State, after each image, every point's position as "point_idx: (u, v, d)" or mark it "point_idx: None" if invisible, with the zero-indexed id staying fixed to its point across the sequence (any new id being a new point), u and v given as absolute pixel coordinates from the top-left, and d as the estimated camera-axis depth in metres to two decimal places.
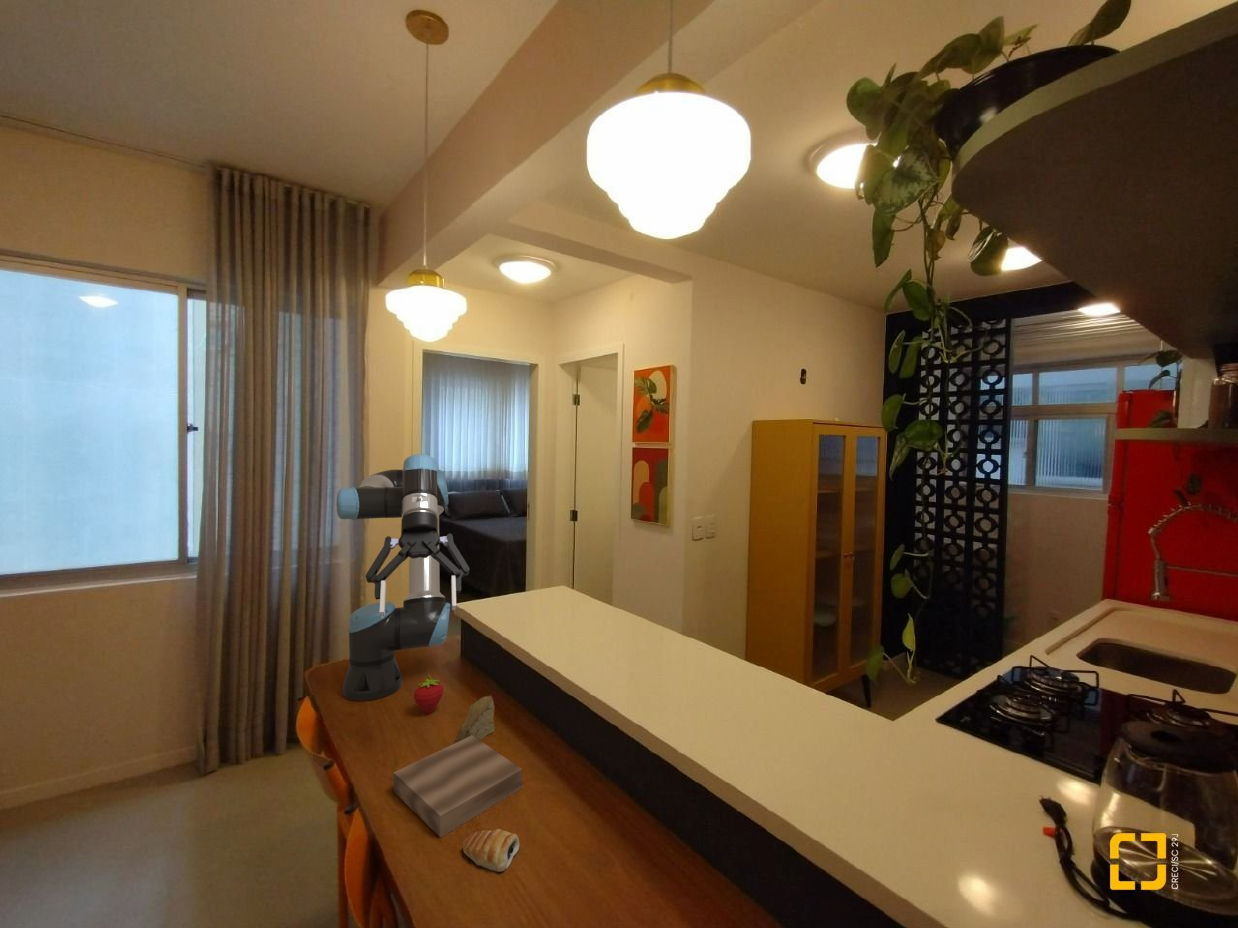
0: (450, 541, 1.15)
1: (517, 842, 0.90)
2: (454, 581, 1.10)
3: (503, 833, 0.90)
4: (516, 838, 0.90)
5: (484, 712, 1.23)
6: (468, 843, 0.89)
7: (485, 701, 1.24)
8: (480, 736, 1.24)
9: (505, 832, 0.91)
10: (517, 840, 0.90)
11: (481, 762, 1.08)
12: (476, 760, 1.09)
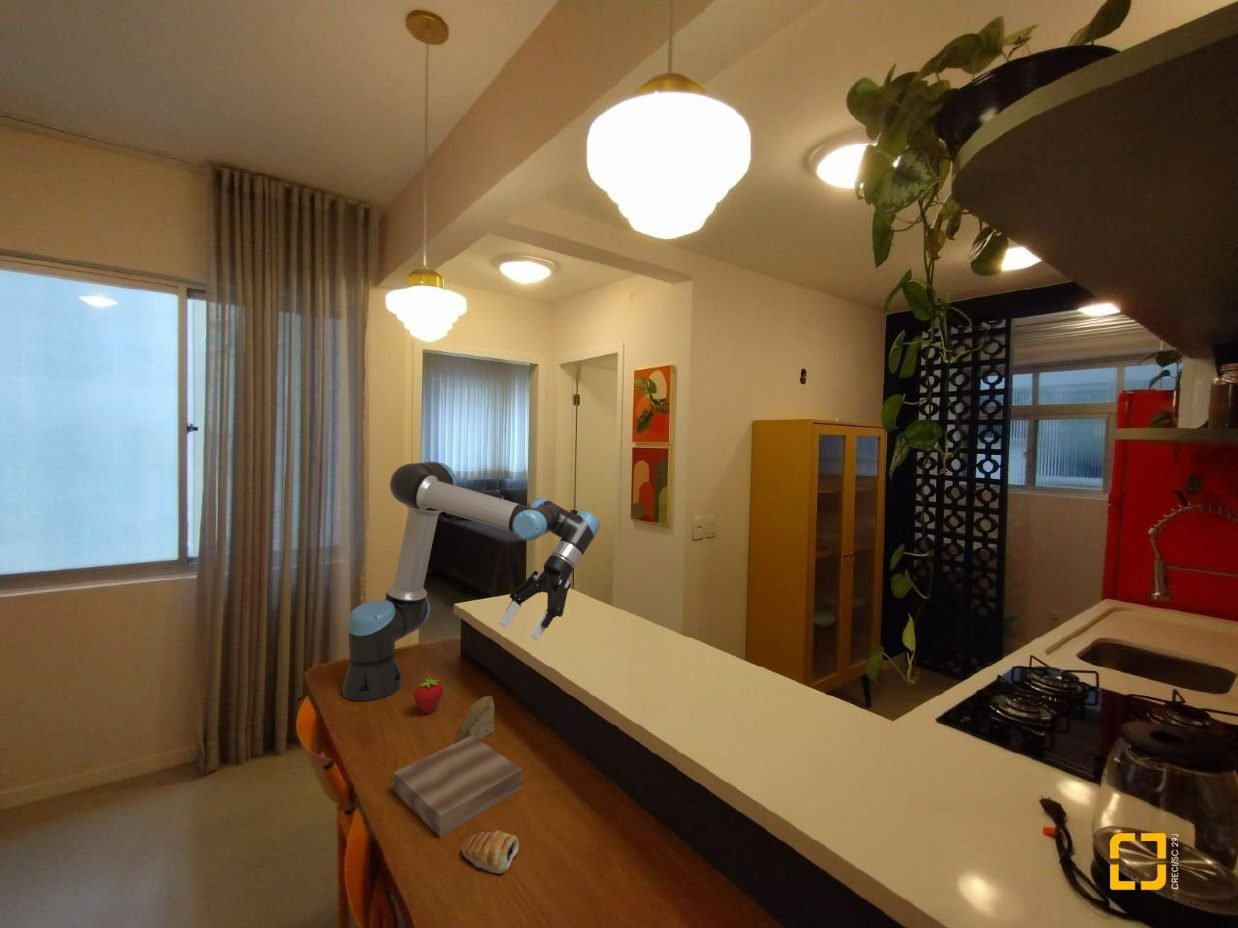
0: None
1: (516, 843, 0.90)
2: None
3: (502, 835, 0.90)
4: (515, 839, 0.90)
5: (484, 712, 1.23)
6: (467, 845, 0.89)
7: (485, 701, 1.24)
8: (480, 736, 1.24)
9: (504, 834, 0.90)
10: (516, 841, 0.90)
11: (481, 762, 1.08)
12: (476, 760, 1.09)
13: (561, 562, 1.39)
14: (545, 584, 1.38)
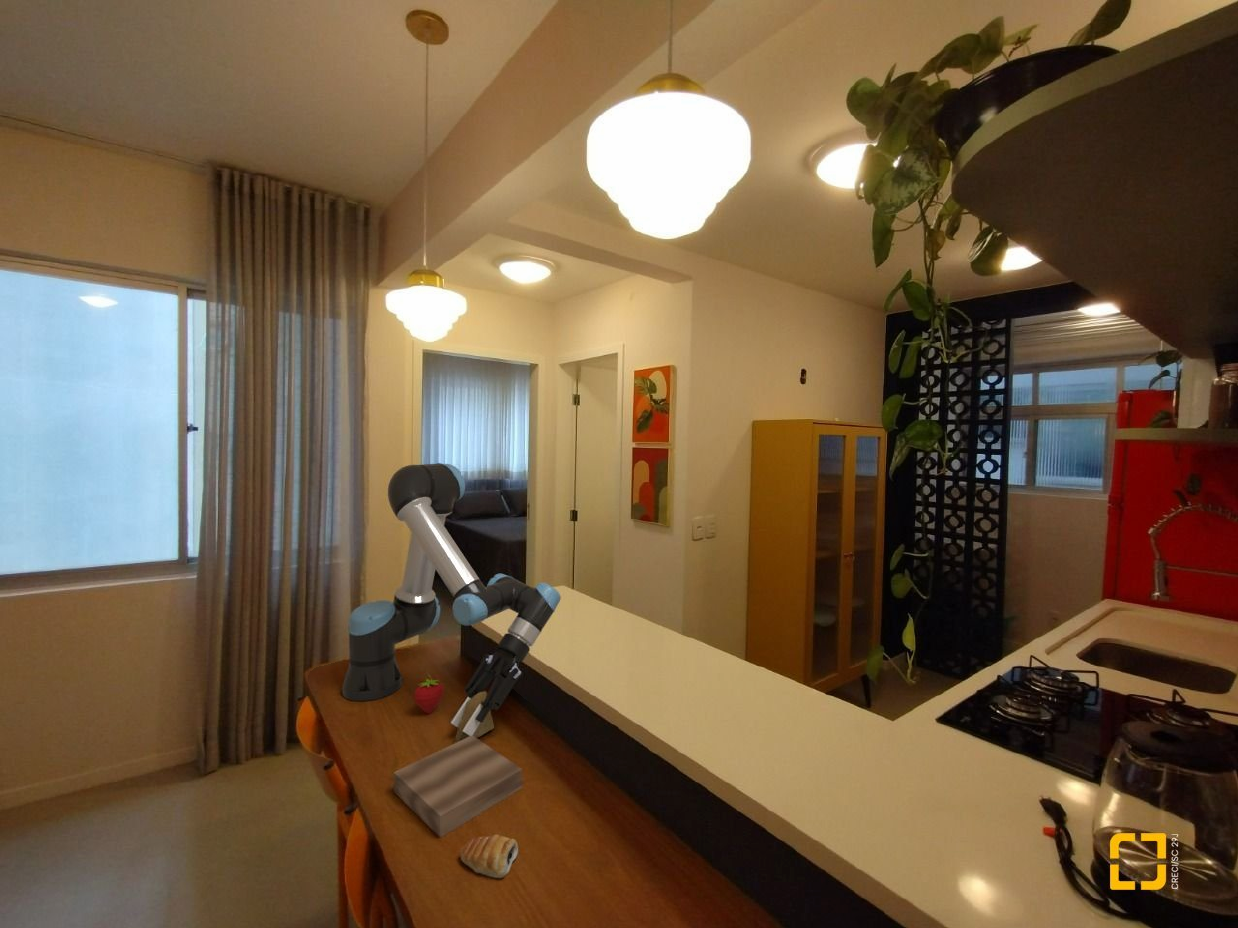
0: None
1: (516, 847, 0.89)
2: None
3: (501, 839, 0.89)
4: (515, 843, 0.89)
5: None
6: (466, 850, 0.88)
7: (480, 697, 1.24)
8: (479, 733, 1.24)
9: (503, 837, 0.89)
10: (516, 845, 0.89)
11: (481, 762, 1.08)
12: (476, 760, 1.09)
13: (517, 643, 1.29)
14: None
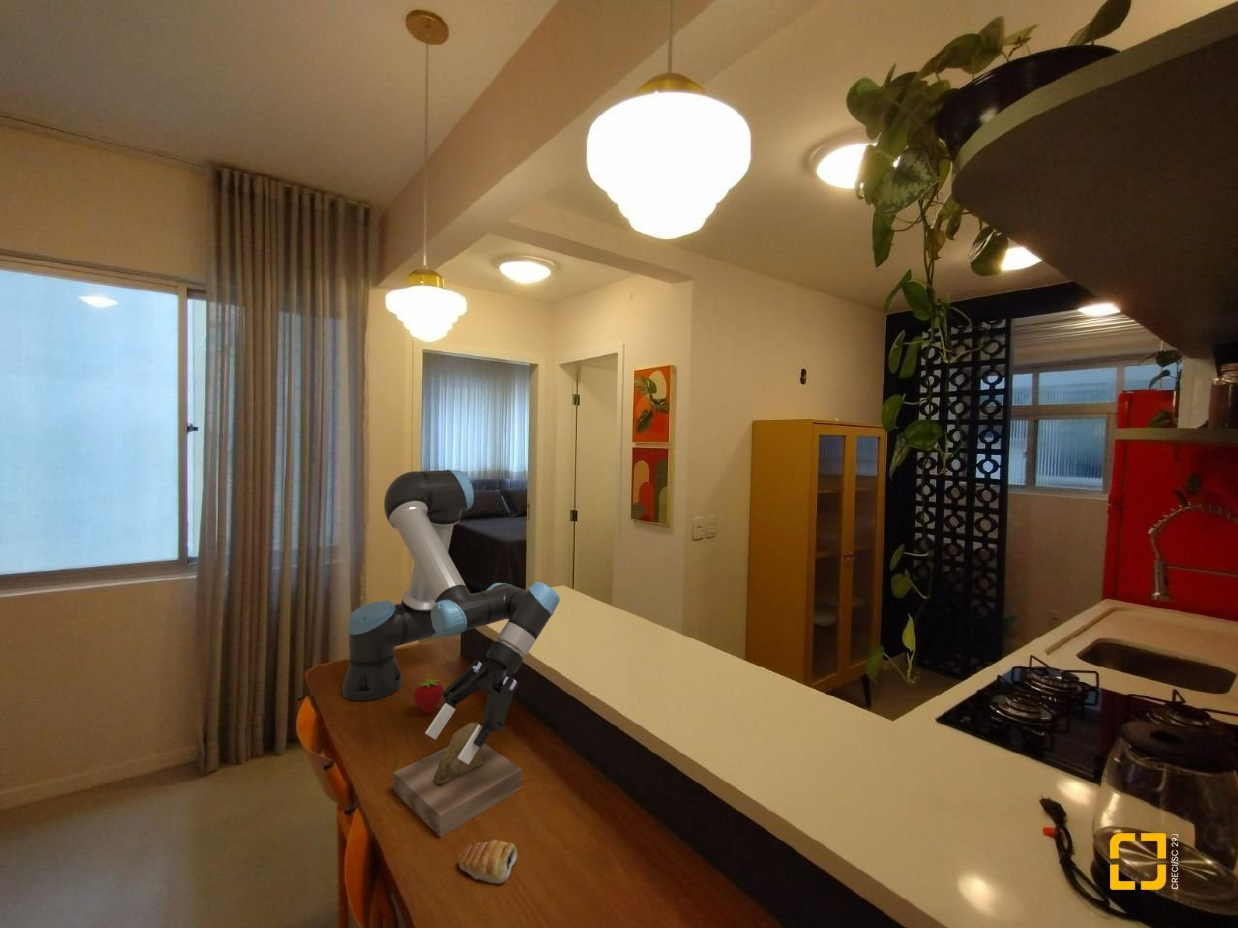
0: None
1: (515, 851, 0.88)
2: None
3: (500, 843, 0.88)
4: (514, 847, 0.88)
5: None
6: (464, 857, 0.86)
7: (470, 729, 1.05)
8: (464, 770, 1.05)
9: (502, 842, 0.88)
10: (515, 849, 0.88)
11: None
12: None
13: (508, 652, 1.10)
14: (487, 680, 1.09)
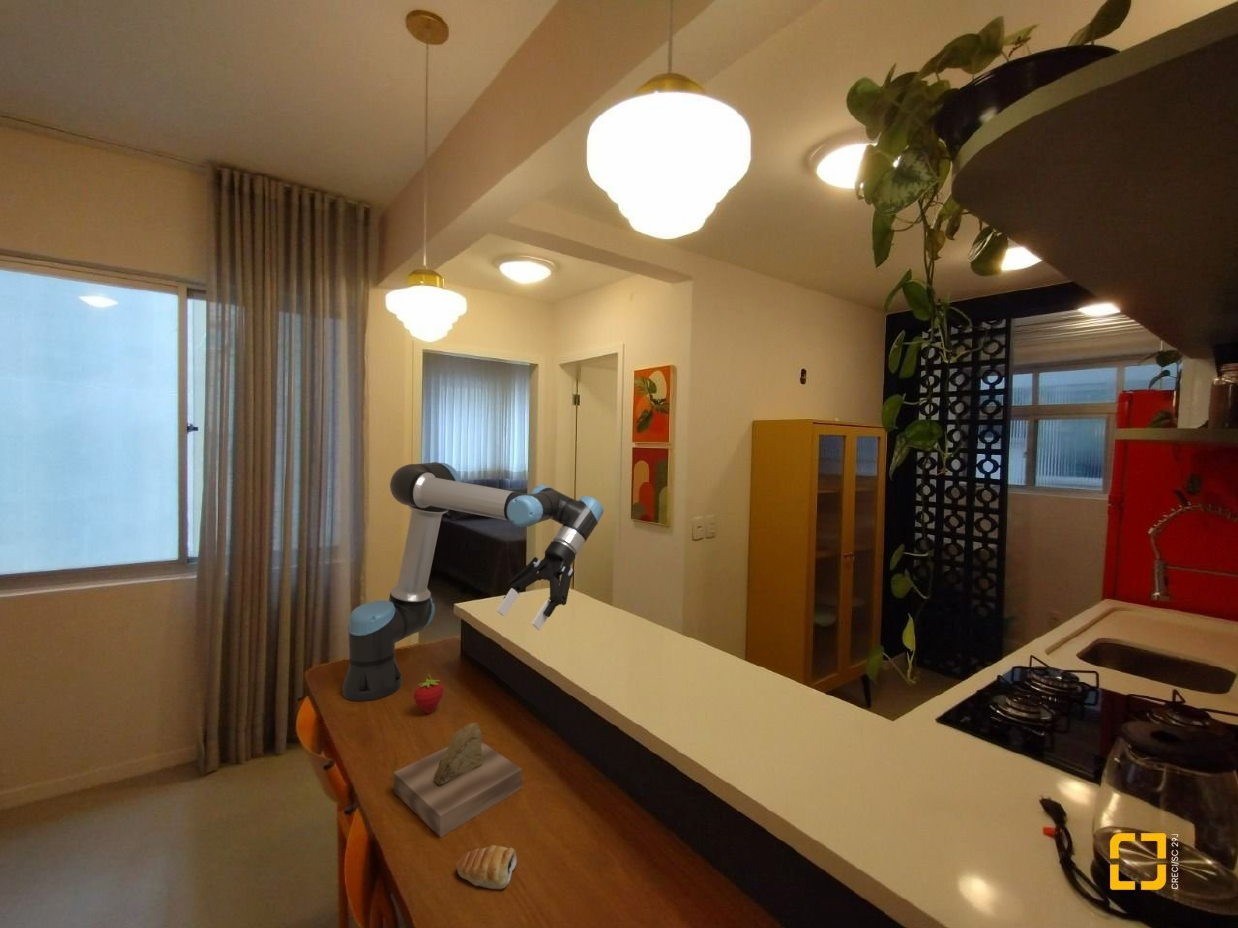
0: None
1: (514, 856, 0.87)
2: None
3: (500, 849, 0.87)
4: (514, 852, 0.87)
5: (468, 742, 1.03)
6: (463, 864, 0.85)
7: (470, 729, 1.05)
8: (464, 770, 1.05)
9: (501, 847, 0.87)
10: (514, 854, 0.87)
11: None
12: None
13: (564, 548, 1.32)
14: (546, 571, 1.31)
